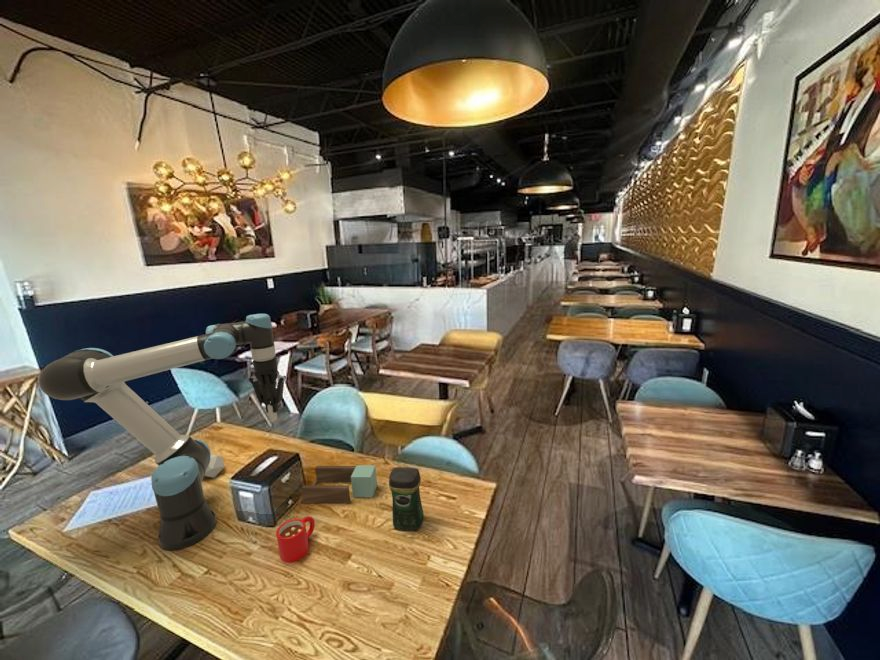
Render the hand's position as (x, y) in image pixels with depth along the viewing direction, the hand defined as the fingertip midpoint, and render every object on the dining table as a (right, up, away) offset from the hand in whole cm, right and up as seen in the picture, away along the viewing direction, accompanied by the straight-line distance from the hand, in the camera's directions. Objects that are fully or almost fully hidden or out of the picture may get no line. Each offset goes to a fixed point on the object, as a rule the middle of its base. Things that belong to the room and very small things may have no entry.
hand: (273, 420), depth 134 cm
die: (-30, -25, +14) cm, 42 cm away
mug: (+19, -32, -24) cm, 44 cm away
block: (+34, -25, -1) cm, 42 cm away
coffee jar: (+50, -28, -17) cm, 60 cm away
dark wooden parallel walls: (+22, -26, 0) cm, 34 cm away
